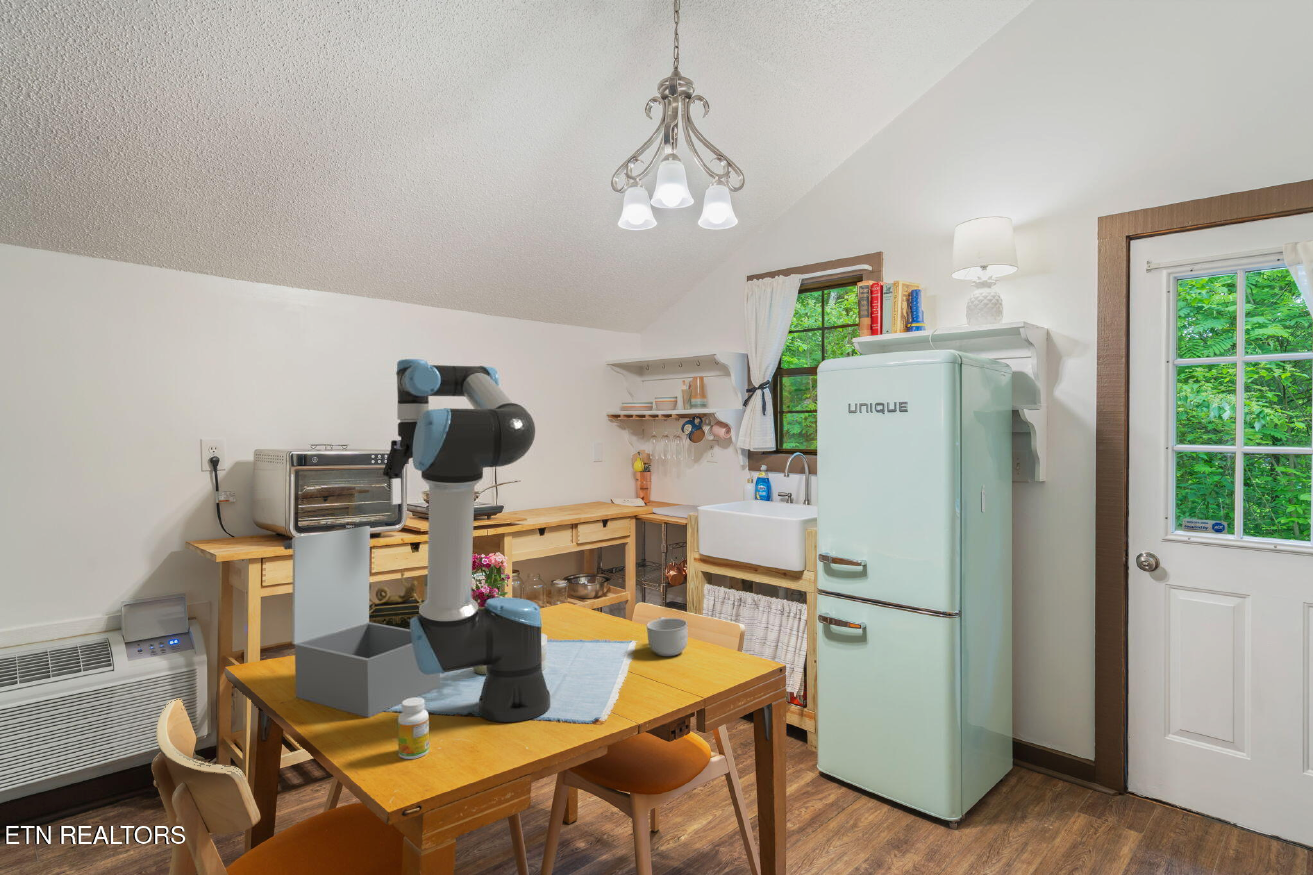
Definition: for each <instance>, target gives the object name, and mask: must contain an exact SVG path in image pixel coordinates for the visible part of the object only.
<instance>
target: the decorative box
mask: <svg viewBox="0 0 1313 875" xmlns="http://www.w3.org/2000/svg"><path fill="white" fill-rule="evenodd" d="M400 575H401V576H400V581H401V583H402V585H403V586H404V588H405V590H404V592H403V593H404V594H403V595H401V594H393V595H390V594H391V593H390V590H389V589H388V588H387V587H385V586H381V587H378V589H377V590H376V592H375V597H376V599H377V601H376V600H374V599H373V598H372V597H371V595H370V593H371V591H372V584H371V583H370V581H369V602H371V604H369V622H371V623H376V624H382V625H387V626H393V627H398V628H404V629H409V630H410V620H411V619H412V618H414V617H416V616H417V617H419V607H420V605H421V604H422V603H423V602H424V601H426V599H422V598H421V597H420V598H419V597H418V596H417V594H416V593H415V592H416V591H417V586H418V581H417V580H412V582H411V583H410V585H409V584H408V583H406V582H405V579H404V576H405V572H403V570H401V571H400ZM383 593H384V595H383Z"/></svg>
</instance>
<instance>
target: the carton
mask: <svg viewBox="0 0 1313 875" xmlns="http://www.w3.org/2000/svg"><path fill="white" fill-rule="evenodd" d="M294 659H295V660H294V664H295V665H294V666H295V668H294V669H295V670H294V671H295V672H294V673H295V698H297V699H300V700H304V701H309V702H311V703H314V704H317V705H322V706H326V707H328V708H333V709H336V710H338V711H339V710H341V711H344V712H347V713H349V714H354V715H357V716H361V717H365V718H367V719H368V718H370V717H374V716H375V715H378V714H380V713H382V712H384V711H387V710H389V709H391V707H392V708H394V707H396V706H398V705H402V702H403V701H404V700H406V699H409V698H414V697H419V696H421V695H423V694H426V693H428V692H431V691H433V690H435V689H437V688H439V687H441V673H438V674H430V675H426V674H423V673H422V672H421V671H420V670H419V668H418V665H417V662H416V659H415V655H414V650H413V645H412V639H411V632H410V630H409V629H404V628H398V627H393V626H387V625H382V624H376V623H371V622H368V623H364V624H361V625H358V626H354V627H351V628H347V629H344V630H341V631H337V632H334V633H331V634H327V635H324V636H321V637H317V638H314V639H311V640H307V641H304V642H300V643H297V644H294ZM393 706H394V707H393ZM388 708H389V709H388Z"/></svg>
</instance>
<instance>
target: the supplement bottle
mask: <svg viewBox="0 0 1313 875" xmlns="http://www.w3.org/2000/svg"><path fill="white" fill-rule="evenodd" d="M425 707H426V706H425V699H424V698H422V697H419V696H417V697H414V698H409V699H406V700H404V701H403V702H402V703H401V711H402V712H401V713H400V714H399V715H398V717H397V730H398V731H397V734H398V737H397V739H398V742H397V743H398V746H397V747H398V751H397V752H398V756H399V757H400V758H401V759H405V760H414V759H415V760H416V759H419V758H422V757H424V756H425V755H427V754H428V753H429V751H430V731H429V730H430V728H429V727H430V724H429V723H430V720H429V718H430V717H429V712H428V711H427V710H426V709H425Z"/></svg>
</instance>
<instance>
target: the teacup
mask: <svg viewBox="0 0 1313 875" xmlns="http://www.w3.org/2000/svg"><path fill="white" fill-rule="evenodd" d="M646 630H647V641H648V646H649V648H650V650H651V651H652V652H654V653H655V654H656V655H658V656H662V657H674V656H677V655H679V654H681V653H682V652H683V651H684V650H685V649H686V648H687V646H688V640H689V639H688V638H689V637H688V636H689V635H688V633H689V632H688V622H687V620H685V619H682V618H677V617H665V616H661V617H659V618H658V619H653V620H651V621H649V622H648V623H647V624H646Z"/></svg>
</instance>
